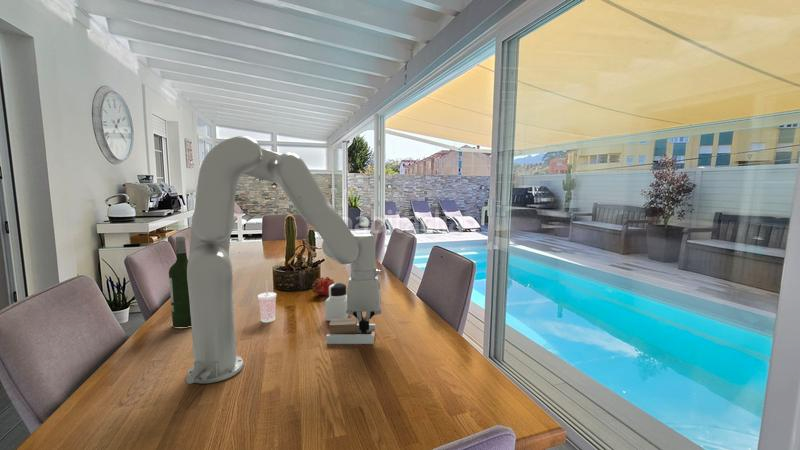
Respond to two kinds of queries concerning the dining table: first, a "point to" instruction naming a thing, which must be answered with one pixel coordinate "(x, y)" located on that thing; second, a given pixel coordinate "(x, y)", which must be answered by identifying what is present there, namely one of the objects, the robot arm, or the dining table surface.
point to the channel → (353, 337)
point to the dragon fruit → (322, 286)
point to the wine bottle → (180, 286)
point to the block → (343, 326)
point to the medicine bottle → (336, 302)
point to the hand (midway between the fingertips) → (364, 331)
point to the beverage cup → (267, 305)
